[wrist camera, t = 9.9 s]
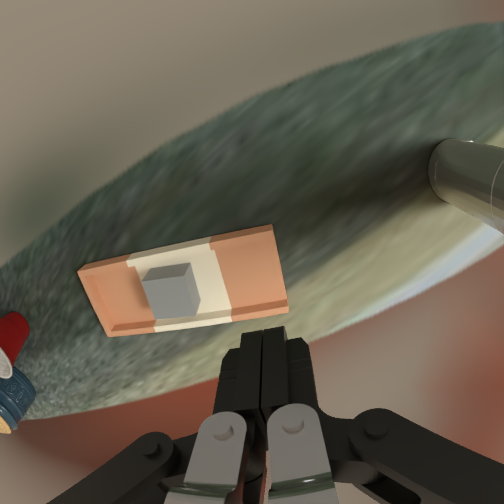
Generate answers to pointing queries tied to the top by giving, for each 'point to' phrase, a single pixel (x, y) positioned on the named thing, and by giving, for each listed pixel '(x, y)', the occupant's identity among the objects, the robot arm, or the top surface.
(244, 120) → the top surface
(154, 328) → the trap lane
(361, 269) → the top surface
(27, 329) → the plastic cup
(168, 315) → the slate block
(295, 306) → the top surface
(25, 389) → the canister
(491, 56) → the top surface
